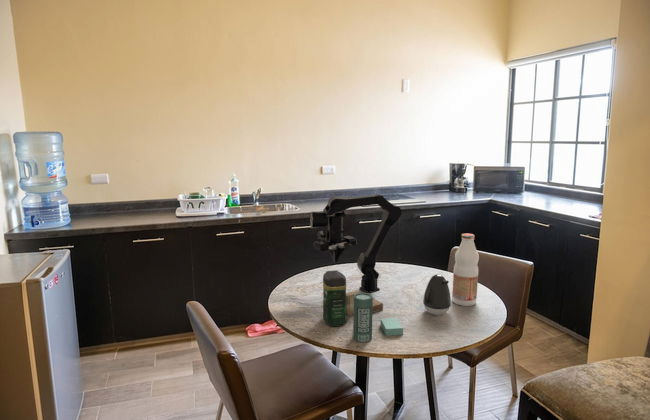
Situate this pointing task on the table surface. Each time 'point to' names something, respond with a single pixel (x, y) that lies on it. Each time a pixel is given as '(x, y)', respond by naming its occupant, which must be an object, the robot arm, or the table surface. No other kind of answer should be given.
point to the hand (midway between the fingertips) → (335, 262)
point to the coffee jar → (334, 298)
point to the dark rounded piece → (437, 295)
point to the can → (362, 317)
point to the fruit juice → (465, 272)
